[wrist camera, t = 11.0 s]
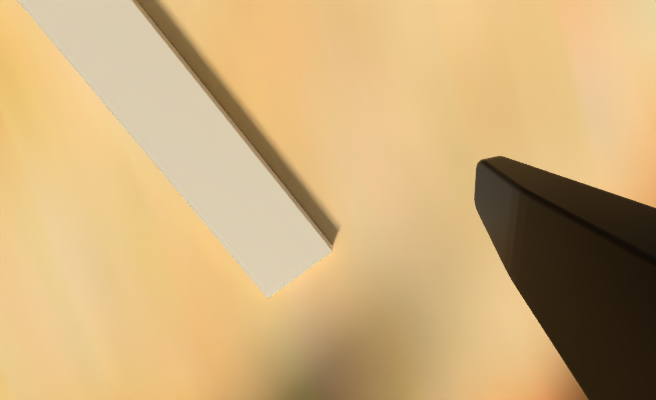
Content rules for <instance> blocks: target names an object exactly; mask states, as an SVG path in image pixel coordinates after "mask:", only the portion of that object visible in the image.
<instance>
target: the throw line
mask: <svg viewBox="0 0 656 400" xmlns="http://www.w3.org/2000/svg"><path fill="white" fill-rule="evenodd" d="M17 1H18V2H19V3H20V4H21V5H22V7H23V8H24V9H25V10H26V11H27V13H28V14H29V15H30V16H31V17H32V18H33V20H34V21H35V22H36V23H37V24H38V26H39V27H40V28H41V29H42V30H43V32H44V33H45V34H46V35H47V36H48V38H49V39H50V40H51V41H52V42H53V44H54V45H55V46H56V47H57V48H58V49H59V51H60V52H61V53H62V54H63V55H64V57H65V58H66V59H67V60H68V61H69V63H70V64H71V65H72V66H73V67H74V69H75V70H76V71H77V72H78V73H79V74H80V76H81V77H82V78H83V79H84V80H85V82H86V83H87V84H88V85H89V86H90V88H91V89H92V90H93V91H94V92H95V94H96V95H97V96H98V97H99V98H100V100H101V101H102V102H103V103H104V104H105V105H106V107H107V108H108V109H109V110H110V111H111V113H112V114H113V115H114V116H115V117H116V119H117V120H118V121H119V122H120V123H121V125H122V126H123V127H124V128H125V129H126V130H127V132H128V133H129V134H130V135H131V136H132V138H133V139H134V140H135V141H136V142H137V144H138V145H139V146H140V147H141V148H142V150H143V151H144V152H145V153H146V154H147V156H148V157H149V158H150V159H151V160H152V161H153V163H154V164H155V165H156V166H157V167H158V169H159V170H160V171H161V172H162V173H163V175H164V176H165V177H166V178H167V179H168V181H169V182H170V183H171V184H172V185H173V186H174V188H175V189H176V190H177V191H178V192H179V194H180V195H181V196H182V197H183V198H184V200H185V201H186V202H187V203H188V204H189V206H190V207H191V208H192V209H193V210H194V211H195V213H196V214H197V215H198V216H199V217H200V219H201V220H202V221H203V222H204V223H205V225H206V226H207V227H208V228H209V229H210V231H211V232H212V233H213V234H214V235H215V237H216V238H217V239H218V240H219V241H220V242H221V244H222V245H223V246H224V247H225V248H226V250H227V251H228V252H229V253H230V254H231V256H232V257H233V258H234V259H235V260H236V262H237V263H238V264H239V265H240V266H241V267H242V269H243V270H244V271H245V272H246V273H247V275H248V276H249V277H250V278H251V279H252V281H253V282H254V283H255V284H256V285H257V287H258V288H259V289H260V290H261V291H262V293H263V294H264V295H265V296H266V297H267V298H269V297H271V296H272V295H273V294H275V293H276V292H277V291H279V290H280V289H282V288H283V287H284V286H286V285H287V284H288V283H290V282H291V281H293V280H294V279H295V278H297V277H298V276H299V275H301V274H302V273H304V272H305V271H306V270H308V269H309V268H310V267H312V266H313V265H315V264H316V263H317V262H319V261H320V260H321V259H323V258H324V257H326V256H327V255H328V254H330V253H331V252H332V251H333V246H332V245H331V243H330V242H329V241H328V240H327V238H326V237H325V236H324V235H323V233H322V232H321V231H320V230H319V228H318V227H317V226H316V225H315V223H314V222H313V221H312V220H311V218H310V217H309V216H308V215H307V213H306V212H305V211H304V210H303V208H302V207H301V206H300V205H299V203H298V202H297V201H296V200H295V198H294V197H293V196H292V195H291V193H290V192H289V191H288V190H287V188H286V187H285V186H284V185H283V183H282V182H281V181H280V180H279V178H278V177H277V176H276V175H275V173H274V172H273V171H272V170H271V168H270V167H269V166H268V164H267V163H266V162H265V161H264V159H263V158H262V157H261V156H260V154H259V153H258V152H257V151H256V149H255V148H254V147H253V146H252V144H251V143H250V142H249V141H248V139H247V138H246V137H245V136H244V134H243V133H242V132H241V131H240V129H239V128H238V127H237V126H236V124H235V123H234V122H233V121H232V119H231V118H230V117H229V116H228V114H227V113H226V112H225V111H224V109H223V108H222V107H221V106H220V104H219V103H218V102H217V101H216V99H215V98H214V97H213V96H212V94H211V93H210V92H209V91H208V89H207V88H206V87H205V86H204V84H203V83H202V82H201V81H200V79H199V78H198V77H197V76H196V74H195V73H194V72H193V71H192V69H191V68H190V67H189V66H188V64H187V63H186V62H185V60H184V59H183V58H182V57H181V55H180V54H179V53H178V52H177V50H176V49H175V48H174V47H173V45H172V44H171V43H170V42H169V40H168V39H167V38H166V37H165V35H164V34H163V33H162V32H161V30H160V29H159V28H158V27H157V25H156V24H155V23H154V22H153V20H152V19H151V18H150V17H149V15H148V14H147V13H146V12H145V10H144V9H143V8H142V7H141V5H140V4H139V3H138V2H137V0H17Z"/></svg>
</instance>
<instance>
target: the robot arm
mask: <svg viewBox="0 0 656 400" xmlns="http://www.w3.org/2000/svg"><path fill="white" fill-rule="evenodd" d="M474 200H475V206H476V209H477V211H478V214H479V216H480V218H481V220H482V222H483V224H484V226H485V228H486V230H487V232H488V234H489V236H490V238H491V240H492V242H493V244H494V246H495V248H496V251H497V253H498V255H499V257H500V259H501V261H502V263H503V265H504V267H505V269H506V271H507V273H508V274H509V276H510V278H511V280H512V281H513V283H514V285H515V286H516V288H517V289H518V291H519V292H520V294H521V295H522V297H523V299H524V300H525V302H526V303H527V305H528V306H529V308H530V309H531V311H532V313H533V314H534V316H535V317H536V319H537V320H538V322H539V323H540V325H541V326H542V328H543V330H544V331H545V333H546V334H547V336H548V337H549V339H550V340H551V342H552V344H553V345H554V347H555V348H556V350H557V351H558V353H559V354H560V356H561V357H562V359H563V361H564V362H565V364H566V365H567V367H568V368H569V370H570V371H571V373H572V375H573V376H574V378H575V379H576V381H577V382H578V384H579V385H580V387H581V388H582V390H583V392H584V393H585V395H586V396H587V398H588V399H589V400H656V208H654V207H651V206H648V205H645V204H642V203H639V202H636V201H633V200H630V199H627V198H625V197H622V196H619V195H616V194H613V193H610V192H607V191H604V190H601V189H598V188H595V187H592V186H589V185H586V184H583V183H580V182H577V181H574V180H571V179H568V178H565V177H562V176H559V175H556V174H553V173H550V172H547V171H544V170H541V169H539V168H536V167H533V166H530V165H527V164H524V163H521V162H518V161H515V160H512V159H509V158H506V157H503V156H496V157H492V158H487V159H483V160H480V161H479V162H478V164H477V167H476V180H475V195H474Z"/></svg>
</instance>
